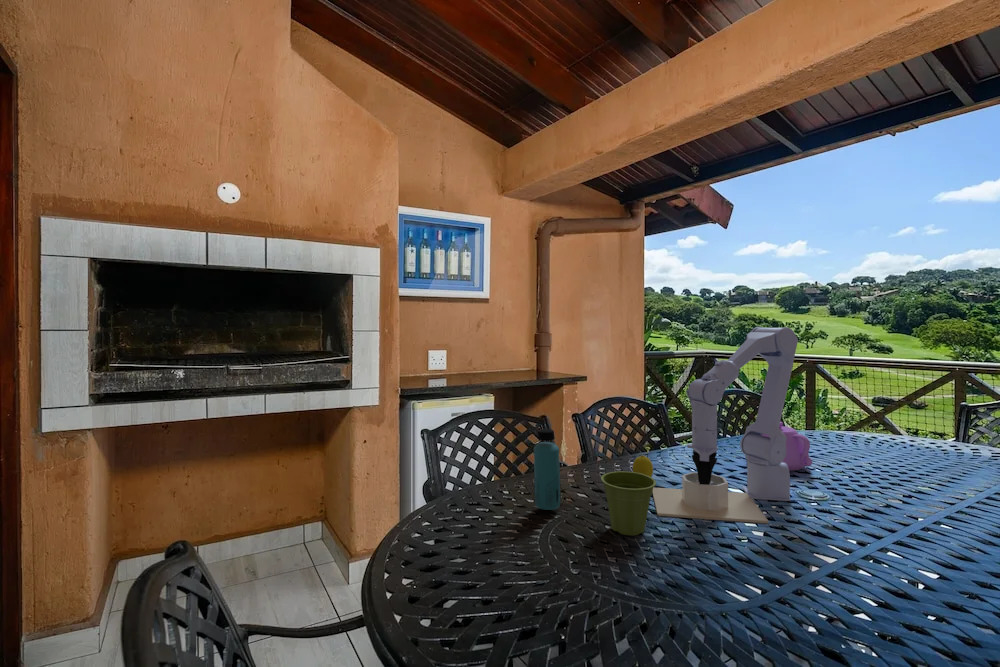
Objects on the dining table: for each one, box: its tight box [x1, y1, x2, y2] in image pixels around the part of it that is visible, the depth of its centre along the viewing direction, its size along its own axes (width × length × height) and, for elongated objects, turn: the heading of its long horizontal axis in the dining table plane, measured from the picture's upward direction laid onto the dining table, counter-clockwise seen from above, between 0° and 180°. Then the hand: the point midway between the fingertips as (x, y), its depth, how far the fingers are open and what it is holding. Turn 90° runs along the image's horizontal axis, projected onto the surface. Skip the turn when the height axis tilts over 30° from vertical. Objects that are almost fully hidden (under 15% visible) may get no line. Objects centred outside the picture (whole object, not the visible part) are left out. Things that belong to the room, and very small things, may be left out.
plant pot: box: [600, 470, 657, 537], centre depth 109 cm, size 12×12×11 cm
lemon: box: [632, 454, 654, 478], centre depth 139 cm, size 6×6×8 cm
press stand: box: [652, 471, 770, 524], centre depth 122 cm, size 24×18×7 cm
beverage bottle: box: [533, 428, 562, 511], centre depth 120 cm, size 6×7×20 cm
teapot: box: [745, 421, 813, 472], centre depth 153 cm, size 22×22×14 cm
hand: (704, 482), depth 122 cm, fingers closed on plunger, 3 cm apart
